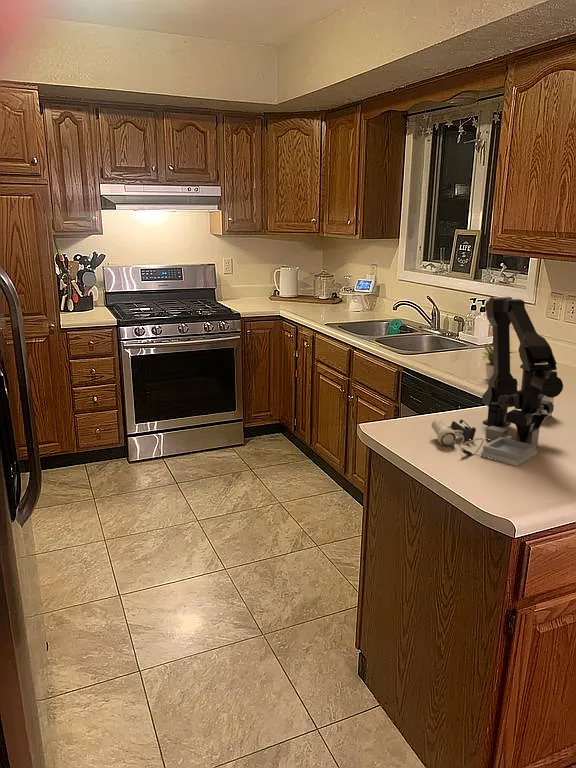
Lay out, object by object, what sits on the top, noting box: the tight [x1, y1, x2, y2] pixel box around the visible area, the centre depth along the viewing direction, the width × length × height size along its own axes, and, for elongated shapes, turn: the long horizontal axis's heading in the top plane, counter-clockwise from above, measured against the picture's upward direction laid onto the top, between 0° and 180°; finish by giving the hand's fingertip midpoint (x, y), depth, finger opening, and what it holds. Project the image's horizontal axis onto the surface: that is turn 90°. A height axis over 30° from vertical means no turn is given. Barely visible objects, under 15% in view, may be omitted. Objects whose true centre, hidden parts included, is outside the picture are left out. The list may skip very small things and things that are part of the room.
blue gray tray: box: [480, 437, 538, 467], centre depth 164 cm, size 12×10×3 cm
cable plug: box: [484, 425, 513, 441], centre depth 175 cm, size 4×7×4 cm, turn 45°
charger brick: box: [515, 427, 540, 447], centre depth 171 cm, size 4×4×6 cm
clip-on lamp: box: [431, 418, 484, 456], centre depth 171 cm, size 12×6×18 cm
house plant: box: [481, 342, 516, 379], centre depth 240 cm, size 14×14×16 cm
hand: (526, 440), depth 171 cm, fingers open, 5 cm apart
